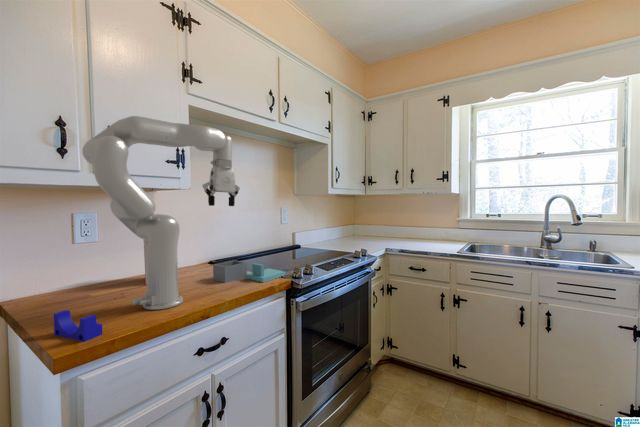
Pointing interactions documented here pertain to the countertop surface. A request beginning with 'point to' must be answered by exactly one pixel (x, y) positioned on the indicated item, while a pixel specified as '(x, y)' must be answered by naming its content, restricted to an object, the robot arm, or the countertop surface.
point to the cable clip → (70, 330)
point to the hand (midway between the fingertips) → (221, 205)
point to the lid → (263, 273)
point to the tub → (229, 271)
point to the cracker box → (145, 257)
